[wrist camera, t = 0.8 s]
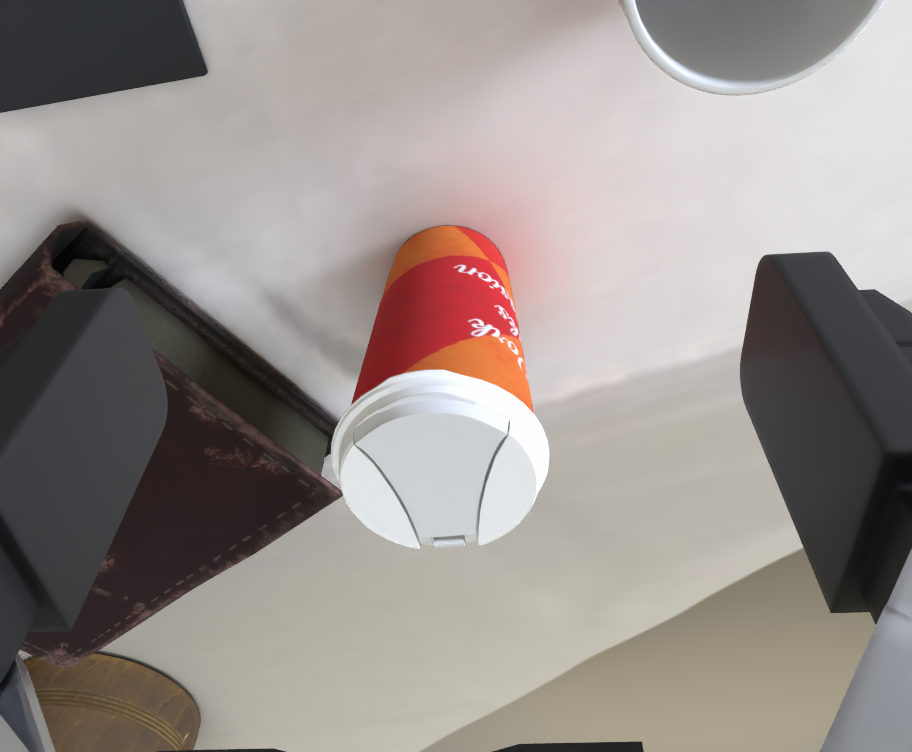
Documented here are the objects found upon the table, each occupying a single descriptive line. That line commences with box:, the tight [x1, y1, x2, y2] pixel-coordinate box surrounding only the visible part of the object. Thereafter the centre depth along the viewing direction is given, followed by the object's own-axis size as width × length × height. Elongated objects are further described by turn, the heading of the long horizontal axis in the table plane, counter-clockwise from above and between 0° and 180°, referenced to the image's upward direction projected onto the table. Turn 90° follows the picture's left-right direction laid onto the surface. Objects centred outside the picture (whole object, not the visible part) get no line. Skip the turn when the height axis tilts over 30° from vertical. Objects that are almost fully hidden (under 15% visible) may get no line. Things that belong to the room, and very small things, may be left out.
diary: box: [0, 221, 343, 669], centre depth 44 cm, size 19×25×5 cm
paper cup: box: [331, 225, 549, 549], centre depth 33 cm, size 8×8×14 cm
